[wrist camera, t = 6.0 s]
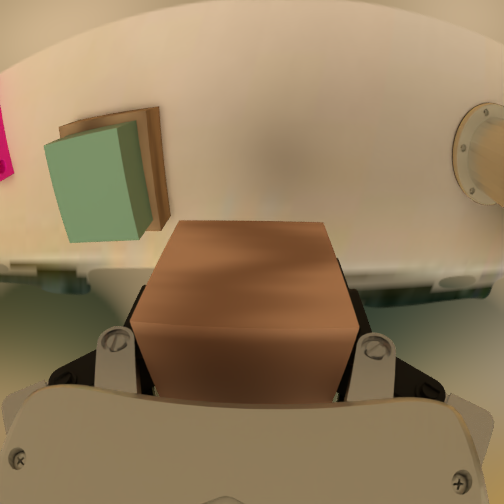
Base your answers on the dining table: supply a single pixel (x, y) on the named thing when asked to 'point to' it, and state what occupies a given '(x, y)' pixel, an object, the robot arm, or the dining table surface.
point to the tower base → (149, 152)
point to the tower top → (100, 184)
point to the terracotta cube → (246, 314)
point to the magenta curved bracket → (4, 154)
